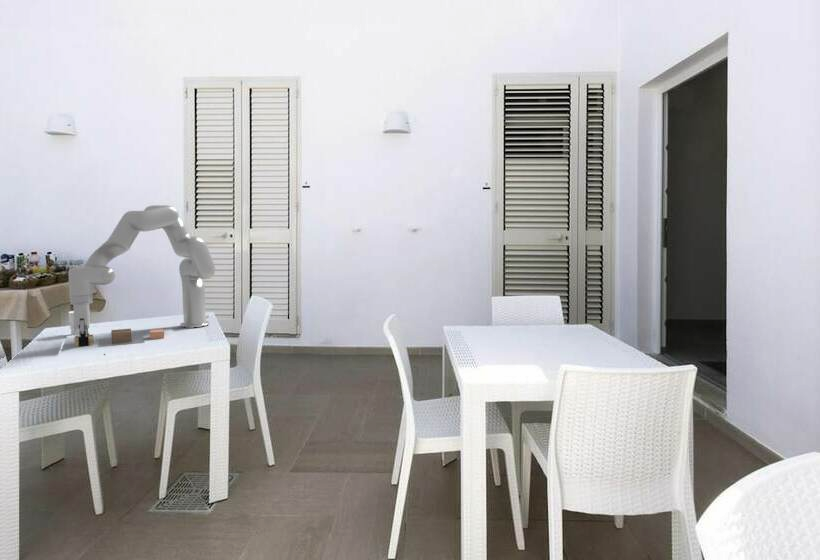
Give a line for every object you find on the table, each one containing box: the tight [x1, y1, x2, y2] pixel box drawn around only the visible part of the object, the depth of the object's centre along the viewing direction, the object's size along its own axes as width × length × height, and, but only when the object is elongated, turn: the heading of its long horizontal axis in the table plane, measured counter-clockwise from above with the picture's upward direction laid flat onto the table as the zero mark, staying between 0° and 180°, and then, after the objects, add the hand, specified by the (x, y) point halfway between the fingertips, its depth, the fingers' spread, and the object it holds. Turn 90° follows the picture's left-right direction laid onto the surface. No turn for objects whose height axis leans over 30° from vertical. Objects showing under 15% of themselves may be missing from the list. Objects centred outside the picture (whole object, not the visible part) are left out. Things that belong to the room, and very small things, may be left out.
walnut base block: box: [110, 328, 132, 343], centre depth 226 cm, size 7×7×4 cm
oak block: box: [74, 334, 94, 347], centre depth 220 cm, size 6×6×4 cm
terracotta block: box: [149, 328, 165, 340], centre depth 232 cm, size 5×5×4 cm
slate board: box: [98, 334, 145, 348], centre depth 226 cm, size 16×16×1 cm
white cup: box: [68, 310, 91, 337], centre depth 242 cm, size 8×8×10 cm
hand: (84, 344), depth 220 cm, fingers closed on oak block, 6 cm apart
